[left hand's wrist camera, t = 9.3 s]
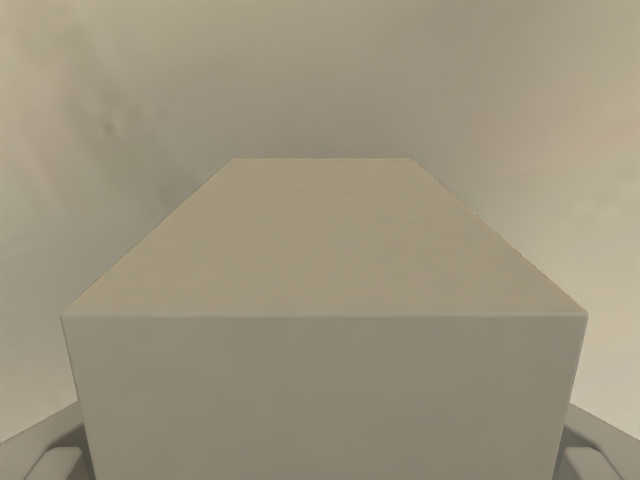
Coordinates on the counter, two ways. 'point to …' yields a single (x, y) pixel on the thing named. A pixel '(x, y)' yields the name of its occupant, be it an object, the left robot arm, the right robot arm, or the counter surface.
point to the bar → (323, 335)
